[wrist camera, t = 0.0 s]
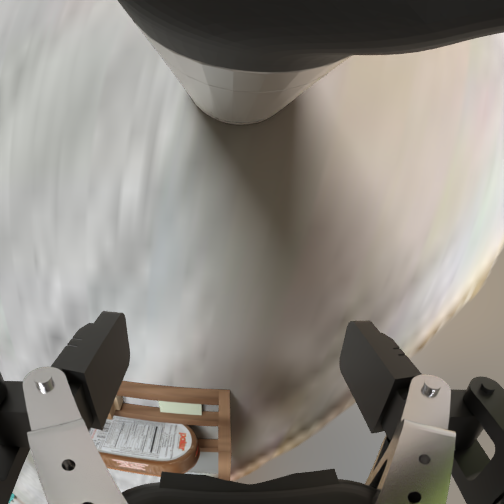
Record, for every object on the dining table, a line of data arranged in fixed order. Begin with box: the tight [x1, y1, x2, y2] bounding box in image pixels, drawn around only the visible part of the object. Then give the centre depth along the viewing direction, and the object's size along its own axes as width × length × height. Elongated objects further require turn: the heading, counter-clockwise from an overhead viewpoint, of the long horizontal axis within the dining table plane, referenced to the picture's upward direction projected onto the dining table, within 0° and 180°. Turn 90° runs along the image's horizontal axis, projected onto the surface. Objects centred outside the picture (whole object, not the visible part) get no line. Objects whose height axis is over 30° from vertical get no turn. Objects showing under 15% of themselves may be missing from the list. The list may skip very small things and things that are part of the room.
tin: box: [89, 416, 200, 477], centre depth 30 cm, size 15×3×8 cm, turn 89°
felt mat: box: [188, 452, 218, 474], centre depth 36 cm, size 7×19×1 cm, turn 86°
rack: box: [114, 381, 231, 481], centre depth 29 cm, size 11×21×9 cm, turn 86°
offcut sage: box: [159, 401, 202, 415], centre depth 33 cm, size 2×5×1 cm, turn 86°
